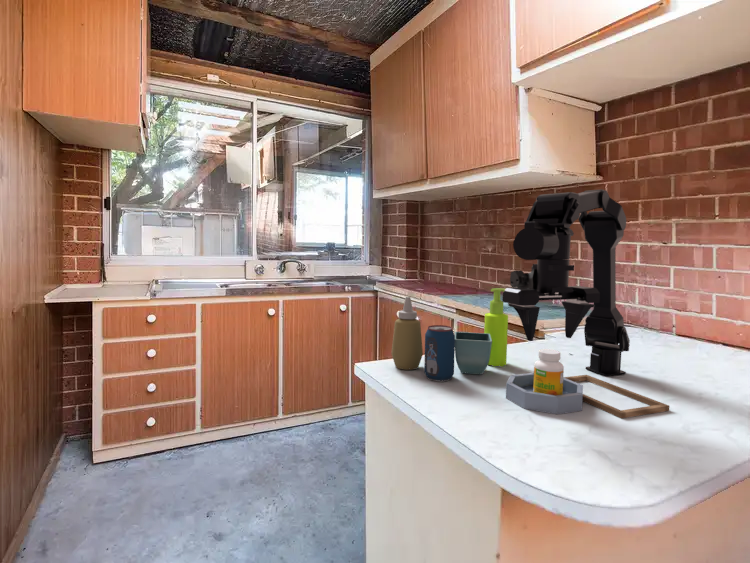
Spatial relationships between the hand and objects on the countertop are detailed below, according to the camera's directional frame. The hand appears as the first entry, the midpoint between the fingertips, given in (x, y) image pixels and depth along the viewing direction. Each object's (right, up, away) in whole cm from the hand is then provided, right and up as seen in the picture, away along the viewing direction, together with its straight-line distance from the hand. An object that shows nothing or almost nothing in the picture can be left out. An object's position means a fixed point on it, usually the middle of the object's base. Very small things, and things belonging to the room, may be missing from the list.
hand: (549, 339), depth 82 cm
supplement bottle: (0, -12, +1) cm, 12 cm away
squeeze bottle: (-26, -11, +25) cm, 38 cm away
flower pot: (-10, -11, +22) cm, 27 cm away
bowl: (0, -13, +3) cm, 13 cm away
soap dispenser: (-2, -11, +29) cm, 31 cm away
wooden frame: (+13, -13, +6) cm, 19 cm away
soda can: (-19, -12, +17) cm, 28 cm away
